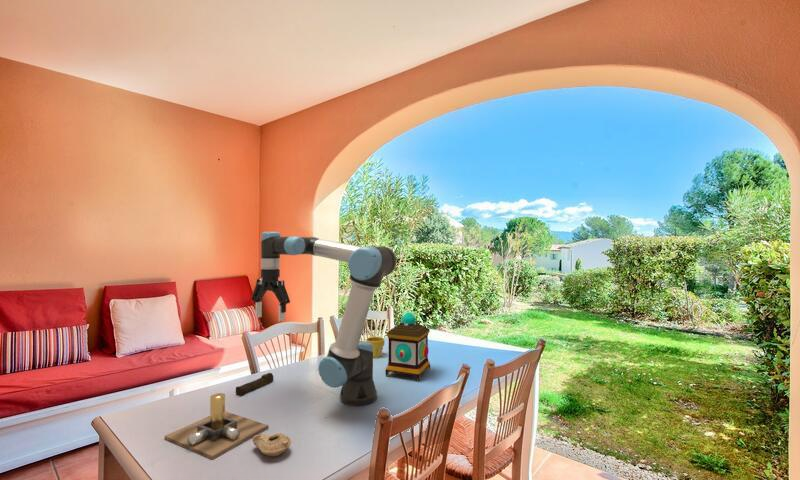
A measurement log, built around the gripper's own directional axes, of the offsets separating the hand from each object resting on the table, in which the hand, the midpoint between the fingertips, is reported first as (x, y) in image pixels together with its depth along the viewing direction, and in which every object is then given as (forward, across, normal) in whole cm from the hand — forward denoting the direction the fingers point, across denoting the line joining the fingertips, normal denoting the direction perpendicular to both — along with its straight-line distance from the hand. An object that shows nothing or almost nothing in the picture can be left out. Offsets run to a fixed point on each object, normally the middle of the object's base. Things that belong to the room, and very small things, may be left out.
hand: (269, 318), depth 156 cm
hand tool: (+32, +11, -2) cm, 34 cm away
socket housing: (+31, -14, +35) cm, 48 cm away
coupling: (+31, -11, +32) cm, 46 cm away
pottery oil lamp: (+32, -34, +30) cm, 55 cm away
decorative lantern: (+32, -40, -51) cm, 72 cm away
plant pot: (+32, -11, -67) cm, 75 cm away
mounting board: (+32, -10, +31) cm, 45 cm away
